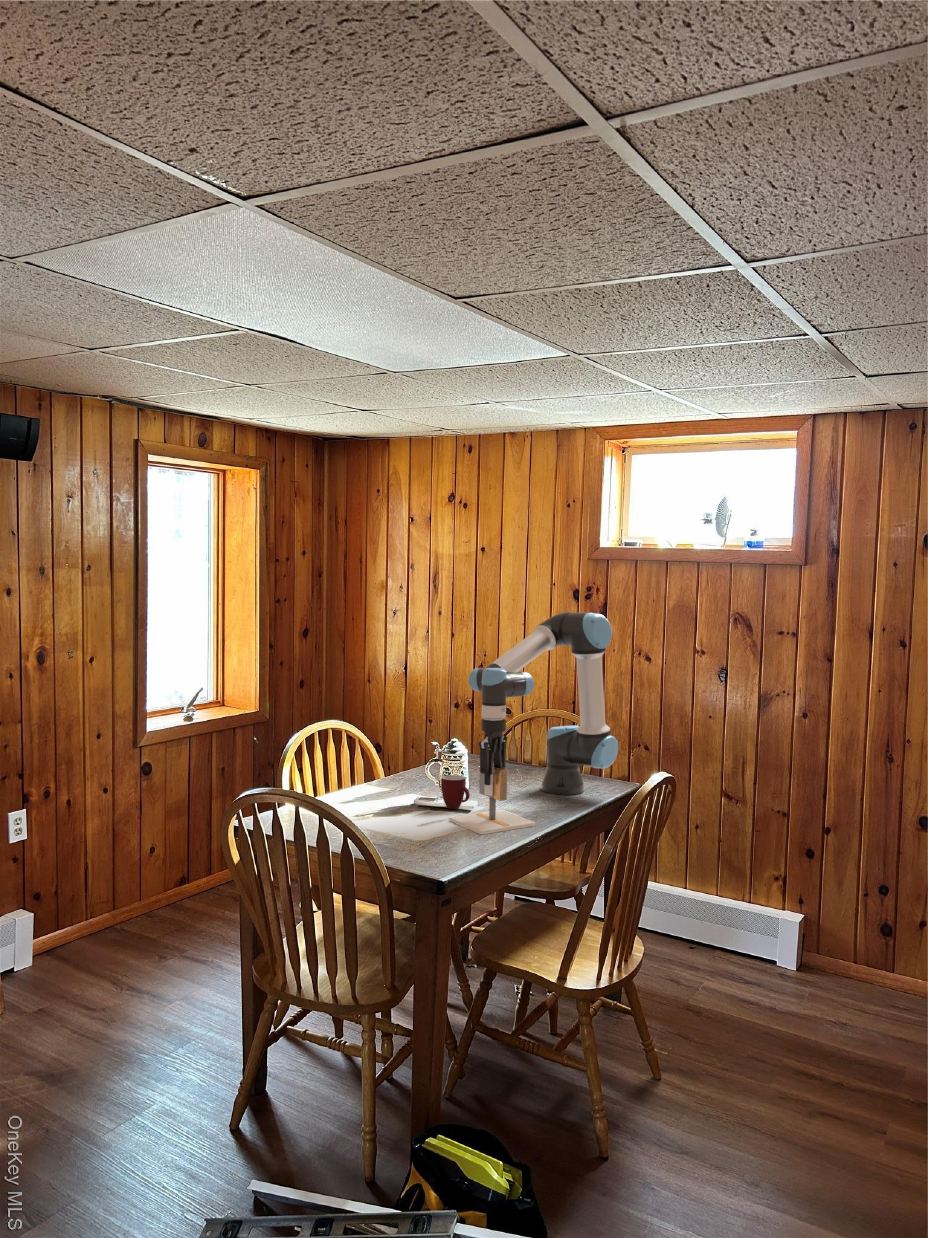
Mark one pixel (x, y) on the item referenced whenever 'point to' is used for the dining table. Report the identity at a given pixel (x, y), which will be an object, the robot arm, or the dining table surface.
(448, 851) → the dining table surface
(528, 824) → the post base
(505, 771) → the grey slab
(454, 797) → the mug
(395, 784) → the dining table surface
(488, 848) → the dining table surface
